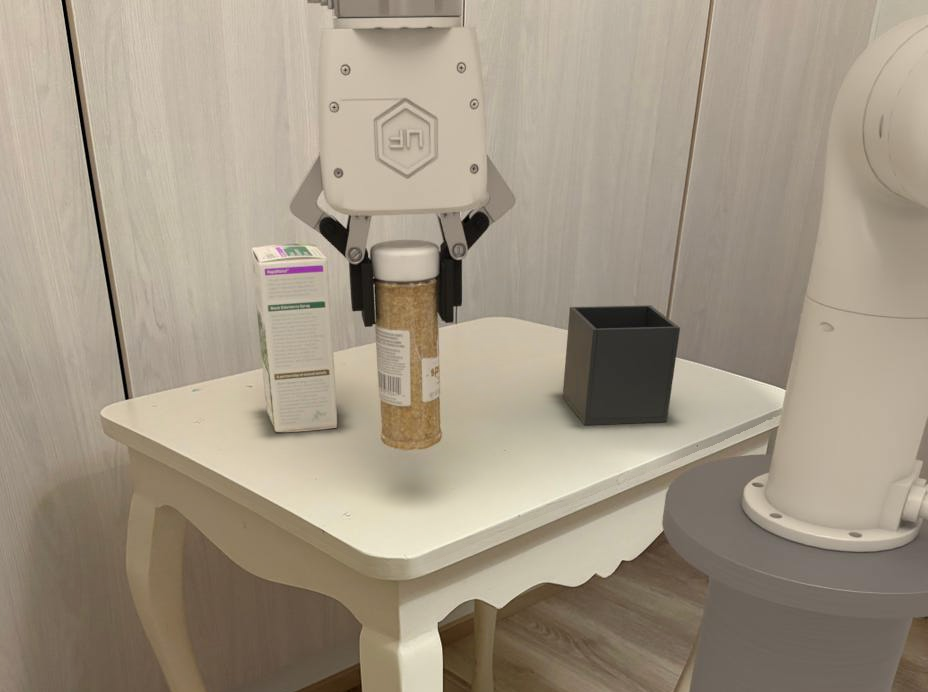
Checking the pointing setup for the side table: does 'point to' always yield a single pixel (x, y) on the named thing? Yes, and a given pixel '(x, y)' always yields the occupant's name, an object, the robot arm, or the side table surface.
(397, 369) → the sprinkles bottle
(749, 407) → the side table surface
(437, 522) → the side table surface
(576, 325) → the dark grey open box
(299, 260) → the syrup box
